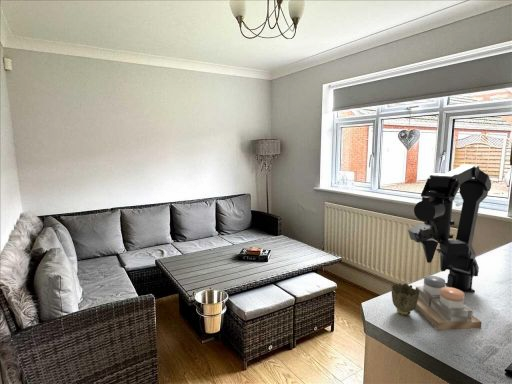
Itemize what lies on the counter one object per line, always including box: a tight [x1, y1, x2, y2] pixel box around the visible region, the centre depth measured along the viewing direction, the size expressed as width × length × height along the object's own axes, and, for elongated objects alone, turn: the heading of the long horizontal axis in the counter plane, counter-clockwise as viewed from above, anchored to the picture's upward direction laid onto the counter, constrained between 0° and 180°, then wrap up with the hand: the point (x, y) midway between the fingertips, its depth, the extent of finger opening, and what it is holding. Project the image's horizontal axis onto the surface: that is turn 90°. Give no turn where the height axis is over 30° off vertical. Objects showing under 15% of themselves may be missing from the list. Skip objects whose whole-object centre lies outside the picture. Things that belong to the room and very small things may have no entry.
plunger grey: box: [423, 275, 446, 295], centre depth 94 cm, size 6×6×4 cm
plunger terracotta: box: [440, 286, 465, 309], centre depth 86 cm, size 6×6×4 cm
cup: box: [391, 282, 420, 317], centre depth 90 cm, size 8×7×8 cm
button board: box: [414, 285, 483, 331], centre depth 90 cm, size 12×16×5 cm
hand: (435, 266), depth 93 cm, fingers open, 6 cm apart
